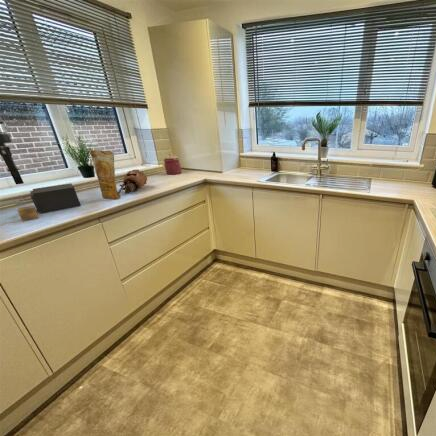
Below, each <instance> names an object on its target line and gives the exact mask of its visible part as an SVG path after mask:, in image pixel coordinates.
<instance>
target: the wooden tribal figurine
mask: <svg viewBox="0 0 436 436" xmlns="http://www.w3.org/2000/svg"><path fill="white" fill-rule="evenodd" d="M147 181H148V176H147V175H146V174H145V172H144V171H140V169H132V170H129V171H127V173H126V174H125V176H124V177H123V181H122V184H119V187H120V188H119V190H118V194H119V195H120V194H121V192H122V191H123V190H124V193H125V194H128V193H130V192H131V193H133V192H137V191H139V190H140V189H141V188H142V187H143V186H145V185H147Z"/></svg>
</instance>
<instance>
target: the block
mask: <svg viewBox="0 0 436 436" xmlns="http://www.w3.org/2000/svg"><path fill="white" fill-rule="evenodd" d="M16 211H17V213H18V215H19V217H20V219H21V221H22V222H27V221H33V220H37V219H39V218H40V215H39V212H38V211H37V209H36V207H35V205H28V206H22V207H18V208H17V210H16Z"/></svg>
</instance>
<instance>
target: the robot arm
mask: <svg viewBox="0 0 436 436" xmlns="http://www.w3.org/2000/svg"><path fill="white" fill-rule="evenodd" d="M7 129H8V126H7V125H5V124H4V121H3V119H2V117H1V115H0V157H1V158H2V159H3V162H4V163H5V165H6V167H7V172H9V173H10V175H11V177H12V180H13V181H14V184H15V185H23V184H25V182H24V180H23V178H22V176H21V174H20V172H19V171H20V168H18V166H17V165H16V163H15V161H14V160H15V159H14V158H13V154H12V151H11V148H10V146H7V144H9V143H12V142H13V140H12V138H11V135H10V134H8V130H7Z"/></svg>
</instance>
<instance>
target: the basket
mask: <svg viewBox="0 0 436 436" xmlns="http://www.w3.org/2000/svg"><path fill="white" fill-rule="evenodd" d="M29 196H30V197H29V198H28V197H27V198H23V199H20V198H17V199H15V205H16V206H20V205H22V204H27V203H33V204H34V207H35V209H36V211H37V213H42V212H41V210H40V208H39V206H38V204H37V201H36V199H35V197H34V195H33V190H30V195H29Z"/></svg>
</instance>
